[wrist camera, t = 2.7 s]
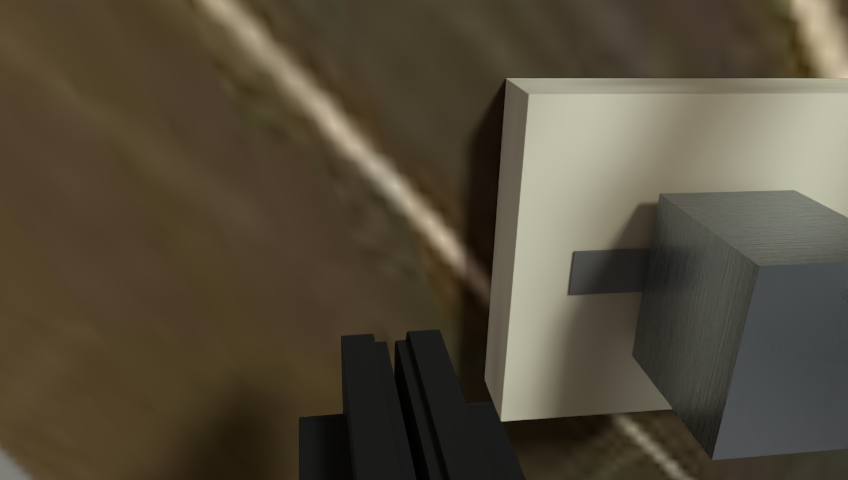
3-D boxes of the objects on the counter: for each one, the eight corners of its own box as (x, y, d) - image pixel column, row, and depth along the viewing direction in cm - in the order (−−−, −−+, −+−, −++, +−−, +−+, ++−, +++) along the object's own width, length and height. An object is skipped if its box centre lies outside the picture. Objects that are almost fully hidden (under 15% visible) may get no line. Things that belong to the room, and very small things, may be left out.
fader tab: (794, 190, 17) (928, 258, 13) (754, 348, 18) (861, 447, 15) (659, 193, 16) (759, 266, 12) (631, 355, 18) (711, 460, 14)
